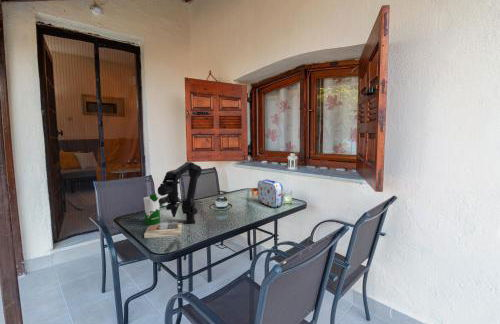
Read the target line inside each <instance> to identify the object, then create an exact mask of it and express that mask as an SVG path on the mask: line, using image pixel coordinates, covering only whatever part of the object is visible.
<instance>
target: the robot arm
mask: <svg viewBox="0 0 500 324" xmlns="http://www.w3.org/2000/svg"><path fill="white" fill-rule="evenodd" d="M187 171H188V175H189V181H188V186H187V187H188V188H187V193H186V198H185V199H184V200H182V202H181V198H180V197H179V185H178V184H181V182H180V181H179V180H180V179H181V177H182V175H184V174H185V173H186V172H187ZM202 172H203V170H202V166H200V165H197V164H195V162H192V161H186V162H184V164H182V165H181V166H179V167H177V168H176V169H171V170H169V171H167V172H166V173H165V175H164V178H163V181H162V183H160V185H159V186H158V187H157V194H158V195H159V196H162V197H160V199H159V200H158V201H159V206H163V205H164V204H166V206H165V210H166V211H170V212H171V215H172V217H173V218H175V217H176V214H177V212H178V209H179V206H180V204H179V203H180V202H181V211H182V214H183V215H184V214H185V224H186V225H189V224H196V219H195V217H196V215H197V214H198V209H197V207H196V202H195V195H196V194H195V193H196V188H197V182H198V179H199V178H200V176H201V174H202Z"/></svg>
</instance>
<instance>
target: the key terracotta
mask: <svg viewBox="0 0 500 324" xmlns="http://www.w3.org/2000/svg"><path fill="white" fill-rule="evenodd" d="M155 225H156V226H151V227H150V231H154V230H158V225H159V224H155Z"/></svg>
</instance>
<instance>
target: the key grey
mask: <svg viewBox="0 0 500 324" xmlns="http://www.w3.org/2000/svg"><path fill="white" fill-rule="evenodd" d="M168 224H169V222H167V221H166V222H160V223H159V225H160V230H167V229H168Z"/></svg>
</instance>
